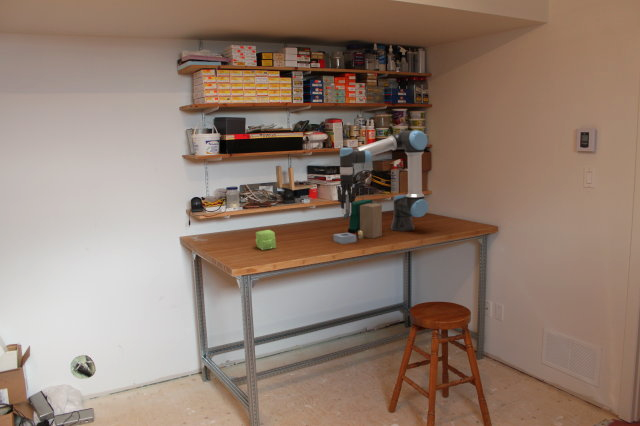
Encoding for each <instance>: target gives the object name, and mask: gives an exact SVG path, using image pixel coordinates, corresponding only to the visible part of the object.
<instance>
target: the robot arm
mask: <svg viewBox="0 0 640 426" xmlns="http://www.w3.org/2000/svg"><path fill="white" fill-rule="evenodd" d="M427 146H428V137H427V135H426V133H425V132H423V131H421V130H417V129H415V130H402V131H400V132H397V133H396V132H395V133H394V134H390V135H389V136H388V137H387V138H384V139H380V140H377V141H375V142H371V143H368V144H364V145H361V146H359V147H358V146H357V147H354V148H353V147H341V148H339V149H340V150H339V174H340V175H339V180H340V183H339V185H336V186H335V188H336V191H337V192H336V194H337V202H338V203H340V208H341V214H342V215H344V214H346V203H344V202H345V194H349V215H351V208H352V203H353V202H355V201H356V192H357V191H356V190H357V184H354V182H353V181H354V179H353V178H354V175H353V174H354V165H355V164H356V165H357V164H358V165H359V164H369V163H371V161H372V156H375V155H378V154H381V153H384V152H388V151H391V150H392V151H396V150H404V153H405V154H406V155H407V191H408V192H407V194H396V195H394V196H393V200H392V201H393V218H392V222H391V225H390V230H392V231H396V232H409V231H410V232H412V231H413V230H415V225H414V222H413V221H414V220H413V219H412V217H414V218H422V217H423V216H425V214H427V212H428V209H429V203H428V201H427V200H425V194H424V193H423V178H422V177H423V174H422V173H423V172H422V171H423V170H422V169H423V168H422V167H423V165H422V162H423V161H422V155H423V154H424V153H425V148H426V147H427Z"/></svg>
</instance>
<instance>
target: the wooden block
mask: <svg viewBox="0 0 640 426" xmlns="http://www.w3.org/2000/svg"><path fill="white" fill-rule="evenodd" d="M382 206H383V205H382V204H381V203H380V204H379V203H374V204H371V203H368V204H364V205H360V230H363V238H367V239H376V238H380V237H382V235H383V234H382V233H383V221H382V219H383V214H382V213H383V212H382V211H383V210H382V209H383V208H382Z"/></svg>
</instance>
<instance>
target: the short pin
mask: <svg viewBox="0 0 640 426" xmlns="http://www.w3.org/2000/svg"><path fill="white" fill-rule="evenodd" d="M357 239H358V240H364V237H363V230H358V235H357Z"/></svg>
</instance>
